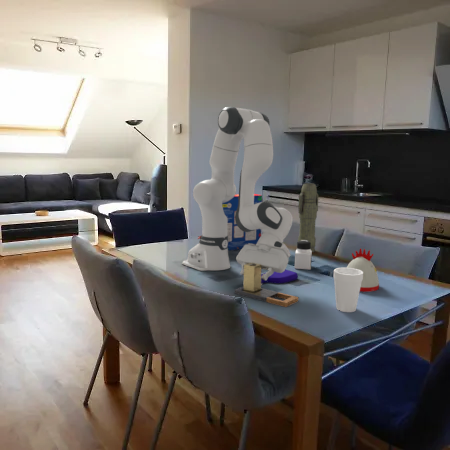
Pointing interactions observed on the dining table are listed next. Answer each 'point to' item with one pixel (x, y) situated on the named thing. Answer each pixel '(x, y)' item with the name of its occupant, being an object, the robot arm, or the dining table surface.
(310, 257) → the medicine bottle
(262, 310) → the dining table surface
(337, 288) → the foam cup
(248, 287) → the tan square peg
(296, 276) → the purple flat blob
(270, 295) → the peg insertion board
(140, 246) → the dining table surface
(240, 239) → the pasta box
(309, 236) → the olive green tall piece
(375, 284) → the kitchen timer
